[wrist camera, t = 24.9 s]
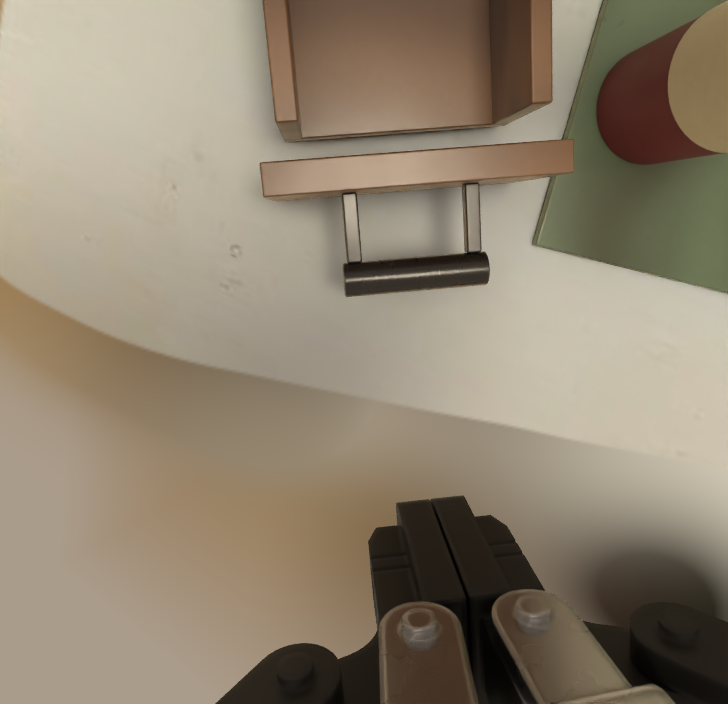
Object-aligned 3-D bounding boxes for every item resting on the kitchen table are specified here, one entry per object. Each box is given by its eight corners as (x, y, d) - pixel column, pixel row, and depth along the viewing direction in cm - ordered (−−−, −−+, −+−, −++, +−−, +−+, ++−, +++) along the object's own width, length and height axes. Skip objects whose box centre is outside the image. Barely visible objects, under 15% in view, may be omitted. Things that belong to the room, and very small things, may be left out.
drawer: (520, 271, 29) (574, 286, 23) (285, 292, 28) (276, 313, 22) (513, -125, 25) (575, -234, 19) (241, -111, 25) (215, -219, 19)
